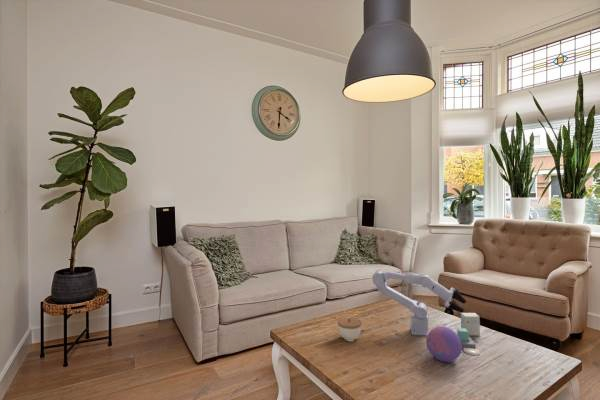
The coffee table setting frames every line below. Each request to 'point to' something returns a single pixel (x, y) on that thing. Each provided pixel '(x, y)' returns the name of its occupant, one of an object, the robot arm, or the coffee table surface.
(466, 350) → the coaster
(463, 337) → the peg
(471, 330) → the small box
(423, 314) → the robot arm
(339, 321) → the lidded bowl
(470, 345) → the pocket board
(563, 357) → the coffee table surface
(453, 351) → the decorative ball
